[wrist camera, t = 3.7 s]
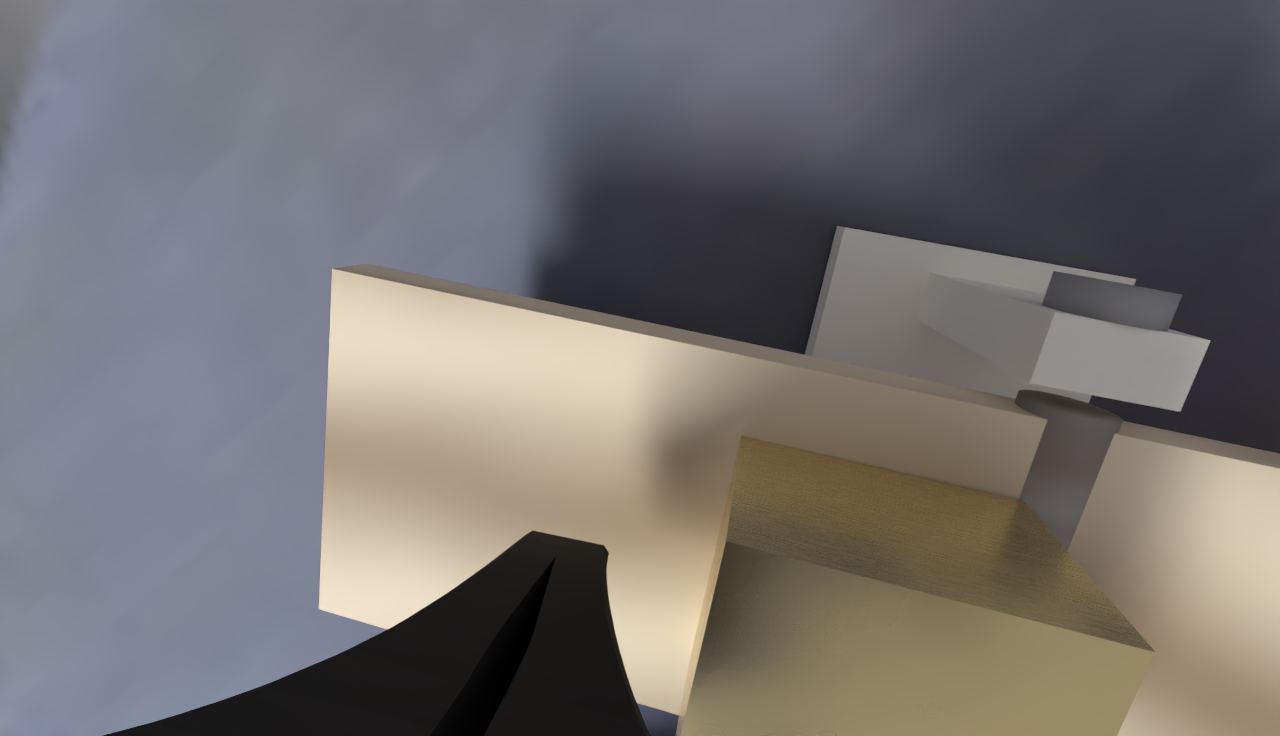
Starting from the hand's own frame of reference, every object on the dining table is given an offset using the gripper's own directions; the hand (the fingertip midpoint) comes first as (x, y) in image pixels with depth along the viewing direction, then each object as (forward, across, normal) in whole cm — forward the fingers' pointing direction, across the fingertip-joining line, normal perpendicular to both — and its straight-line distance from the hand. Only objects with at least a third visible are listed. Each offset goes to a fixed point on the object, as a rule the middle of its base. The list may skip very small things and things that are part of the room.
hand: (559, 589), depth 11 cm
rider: (+2, -5, 0) cm, 5 cm away
